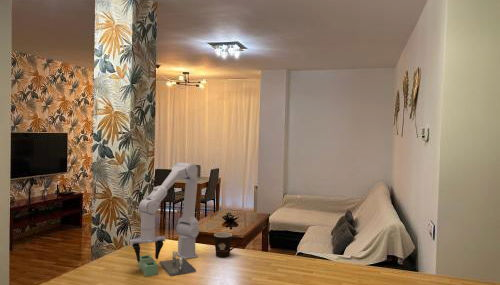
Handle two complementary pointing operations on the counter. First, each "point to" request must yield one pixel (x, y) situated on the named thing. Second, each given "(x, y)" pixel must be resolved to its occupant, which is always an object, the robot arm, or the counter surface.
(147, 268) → the green block with holes
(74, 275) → the counter surface
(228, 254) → the coffee mug
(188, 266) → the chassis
